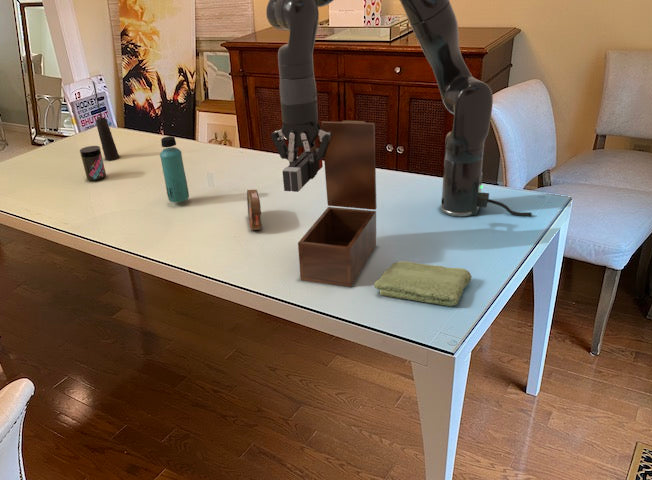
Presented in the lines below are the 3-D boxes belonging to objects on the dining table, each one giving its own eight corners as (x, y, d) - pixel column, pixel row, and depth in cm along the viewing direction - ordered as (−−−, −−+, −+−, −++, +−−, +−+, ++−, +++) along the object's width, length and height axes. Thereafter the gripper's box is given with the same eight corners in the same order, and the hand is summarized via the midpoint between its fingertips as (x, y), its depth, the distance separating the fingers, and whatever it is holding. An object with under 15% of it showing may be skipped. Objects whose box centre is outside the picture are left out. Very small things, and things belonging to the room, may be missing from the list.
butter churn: (97, 156, 234) (79, 79, 220) (122, 151, 236) (106, 75, 221) (98, 163, 227) (79, 84, 212) (124, 159, 228) (107, 80, 214)
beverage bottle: (194, 199, 187) (183, 134, 177) (183, 208, 182) (171, 141, 172) (175, 198, 190) (164, 133, 180) (164, 206, 185) (151, 140, 175)
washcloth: (393, 267, 141) (393, 254, 139) (472, 280, 132) (474, 267, 131) (371, 295, 131) (371, 282, 130) (456, 312, 123) (457, 298, 121)
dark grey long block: (309, 166, 144) (308, 146, 141) (322, 166, 142) (321, 147, 140) (283, 191, 132) (282, 170, 130) (298, 192, 131) (296, 171, 129)
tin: (247, 213, 175) (244, 185, 170) (258, 211, 175) (255, 183, 170) (252, 236, 162) (248, 206, 158) (264, 234, 162) (261, 204, 158)
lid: (373, 124, 132) (380, 114, 136) (321, 122, 137) (329, 113, 141) (375, 209, 145) (381, 199, 148) (327, 205, 149) (334, 195, 153)
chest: (351, 287, 135) (350, 248, 130) (300, 280, 140) (297, 242, 135) (376, 246, 150) (376, 210, 145) (329, 241, 155) (328, 206, 150)
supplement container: (86, 183, 209) (79, 153, 204) (87, 177, 215) (79, 147, 210) (106, 180, 210) (99, 150, 205) (106, 173, 216) (100, 144, 210)
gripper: (260, 102, 128) (268, 181, 137) (324, 103, 122) (328, 185, 131) (274, 93, 134) (281, 169, 143) (336, 93, 128) (340, 172, 137)
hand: (304, 176), depth 137 cm, fingers closed on dark grey long block, 3 cm apart
